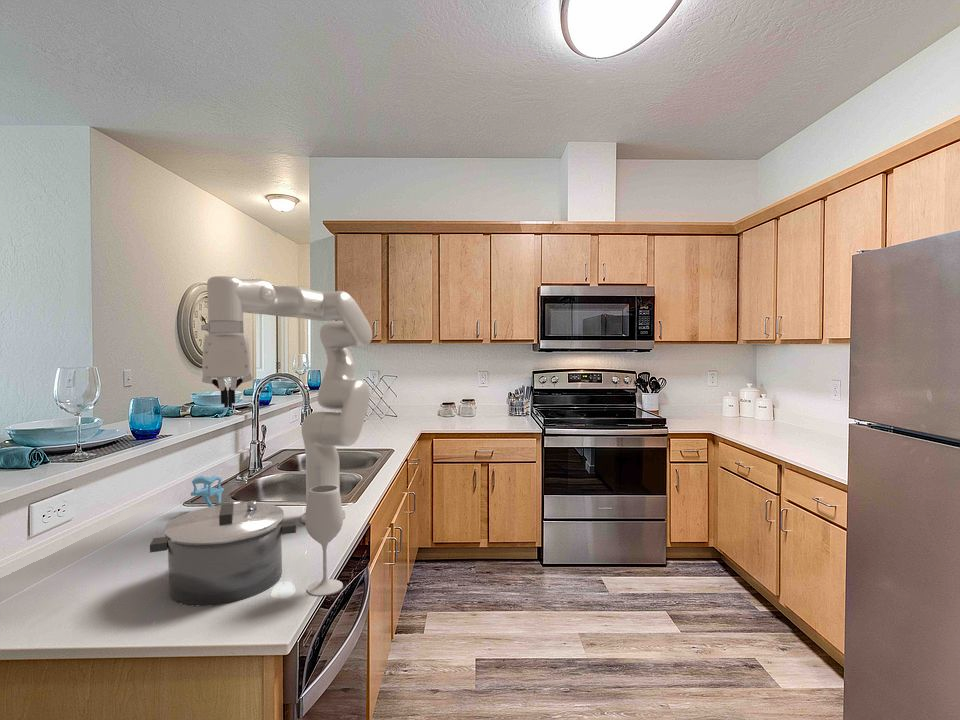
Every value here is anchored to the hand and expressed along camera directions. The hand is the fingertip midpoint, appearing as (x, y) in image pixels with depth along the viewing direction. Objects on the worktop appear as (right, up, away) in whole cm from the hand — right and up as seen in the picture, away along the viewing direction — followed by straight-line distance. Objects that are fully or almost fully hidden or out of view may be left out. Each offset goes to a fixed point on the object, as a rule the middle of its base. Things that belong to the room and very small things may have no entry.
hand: (228, 406), depth 124 cm
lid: (+5, -25, -10) cm, 27 cm away
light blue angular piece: (-24, -36, +37) cm, 57 cm away
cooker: (+5, -37, -11) cm, 39 cm away
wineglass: (+27, -37, -14) cm, 48 cm away
